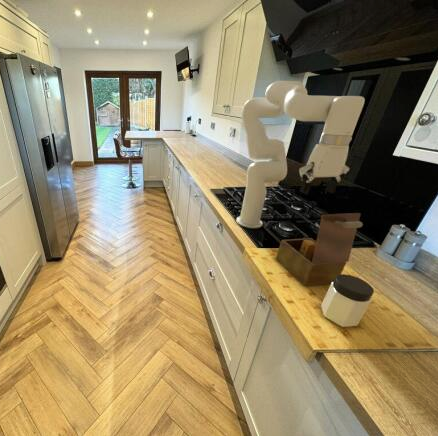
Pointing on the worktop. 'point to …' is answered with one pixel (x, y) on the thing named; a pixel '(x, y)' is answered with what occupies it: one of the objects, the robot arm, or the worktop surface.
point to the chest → (306, 264)
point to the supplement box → (307, 249)
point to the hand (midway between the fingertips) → (316, 192)
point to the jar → (347, 300)
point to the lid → (336, 237)
